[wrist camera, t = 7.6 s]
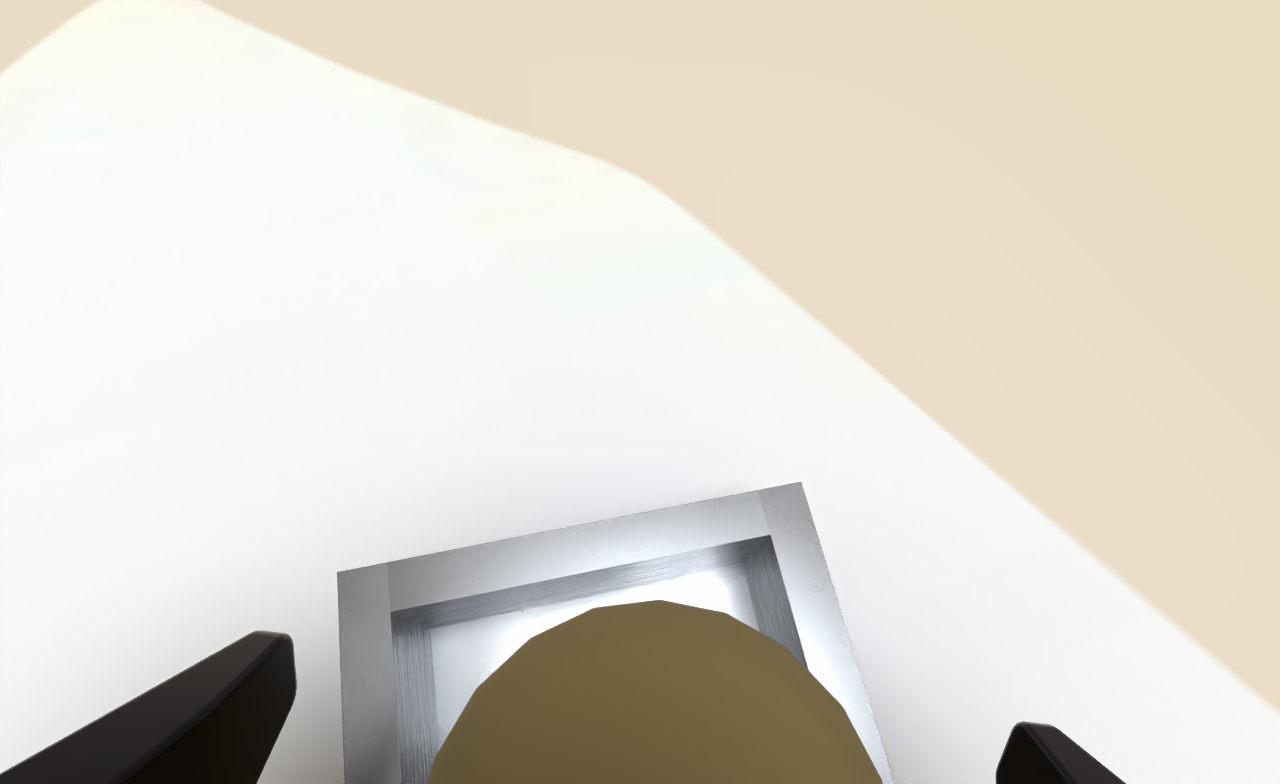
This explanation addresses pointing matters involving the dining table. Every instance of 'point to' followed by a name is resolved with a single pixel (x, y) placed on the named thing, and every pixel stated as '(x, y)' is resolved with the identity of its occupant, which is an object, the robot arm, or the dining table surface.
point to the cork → (652, 708)
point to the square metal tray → (575, 614)
